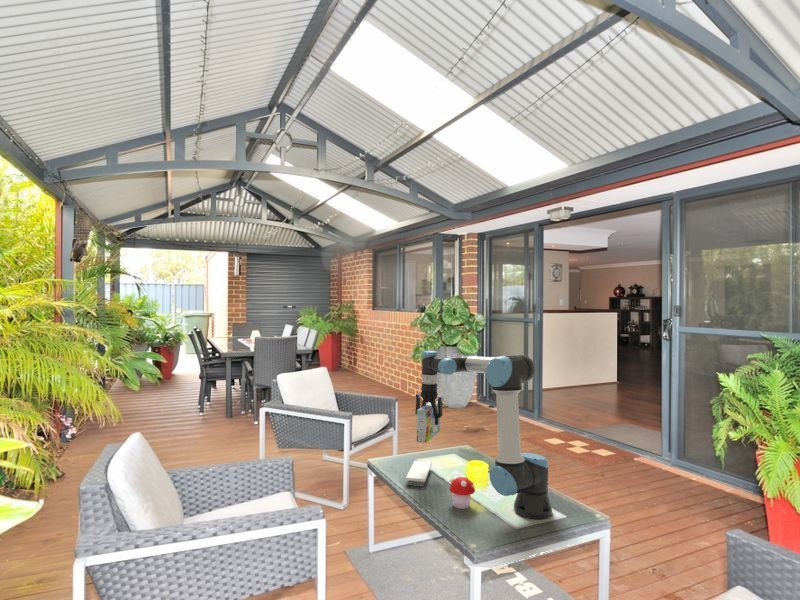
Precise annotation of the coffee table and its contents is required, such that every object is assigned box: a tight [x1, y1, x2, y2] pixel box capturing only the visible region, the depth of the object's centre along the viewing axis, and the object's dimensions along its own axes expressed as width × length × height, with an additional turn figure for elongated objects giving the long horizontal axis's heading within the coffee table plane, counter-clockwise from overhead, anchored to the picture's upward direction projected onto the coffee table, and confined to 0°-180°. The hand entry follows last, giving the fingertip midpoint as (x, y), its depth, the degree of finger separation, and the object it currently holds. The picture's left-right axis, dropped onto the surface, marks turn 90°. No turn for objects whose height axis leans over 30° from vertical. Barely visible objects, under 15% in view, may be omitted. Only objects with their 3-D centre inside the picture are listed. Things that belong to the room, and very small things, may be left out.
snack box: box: [416, 401, 441, 444], centre depth 234 cm, size 21×6×15 cm, turn 158°
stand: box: [405, 460, 433, 488], centre depth 235 cm, size 24×9×4 cm, turn 169°
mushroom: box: [449, 476, 476, 510], centre depth 204 cm, size 11×11×12 cm
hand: (428, 430), depth 234 cm, fingers closed on snack box, 6 cm apart
